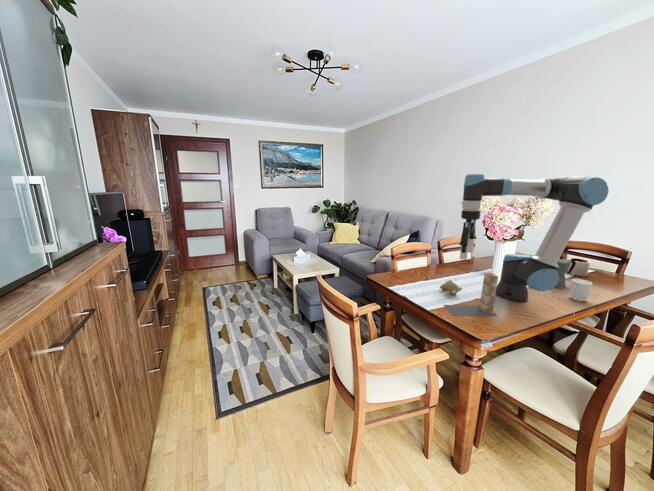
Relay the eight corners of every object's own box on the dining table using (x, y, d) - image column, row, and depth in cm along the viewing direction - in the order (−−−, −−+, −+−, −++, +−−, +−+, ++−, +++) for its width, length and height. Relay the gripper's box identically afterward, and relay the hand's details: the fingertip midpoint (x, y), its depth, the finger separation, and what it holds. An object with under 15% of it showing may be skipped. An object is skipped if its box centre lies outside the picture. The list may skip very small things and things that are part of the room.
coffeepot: (549, 287, 160) (555, 257, 155) (538, 281, 169) (543, 253, 165) (577, 288, 159) (584, 258, 155) (564, 282, 168) (570, 253, 164)
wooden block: (487, 308, 133) (493, 273, 128) (492, 312, 129) (498, 276, 125) (479, 308, 133) (484, 273, 128) (483, 312, 129) (489, 276, 125)
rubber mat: (485, 306, 136) (485, 305, 136) (498, 317, 126) (498, 316, 125) (443, 305, 137) (443, 304, 137) (452, 316, 126) (452, 315, 126)
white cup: (573, 295, 150) (577, 277, 147) (591, 301, 142) (595, 283, 140) (564, 297, 147) (568, 279, 144) (581, 303, 140) (586, 285, 137)
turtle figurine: (451, 279, 156) (462, 281, 144) (455, 291, 155) (467, 294, 143) (438, 283, 155) (447, 285, 143) (442, 295, 155) (452, 298, 143)
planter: (567, 270, 190) (570, 256, 188) (588, 274, 182) (591, 260, 180) (563, 273, 184) (566, 259, 181) (585, 278, 175) (588, 263, 173)
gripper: (467, 206, 134) (463, 248, 139) (455, 212, 115) (450, 261, 120) (485, 207, 130) (480, 250, 135) (475, 213, 111) (469, 264, 116)
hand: (466, 255), depth 128 cm, fingers open, 13 cm apart
